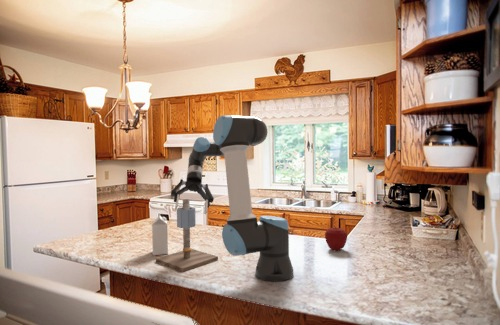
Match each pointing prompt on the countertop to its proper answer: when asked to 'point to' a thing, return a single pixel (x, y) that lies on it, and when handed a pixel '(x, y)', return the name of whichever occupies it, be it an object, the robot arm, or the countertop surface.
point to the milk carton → (160, 236)
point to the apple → (336, 238)
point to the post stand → (186, 253)
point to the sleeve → (186, 218)
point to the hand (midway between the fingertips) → (191, 209)
